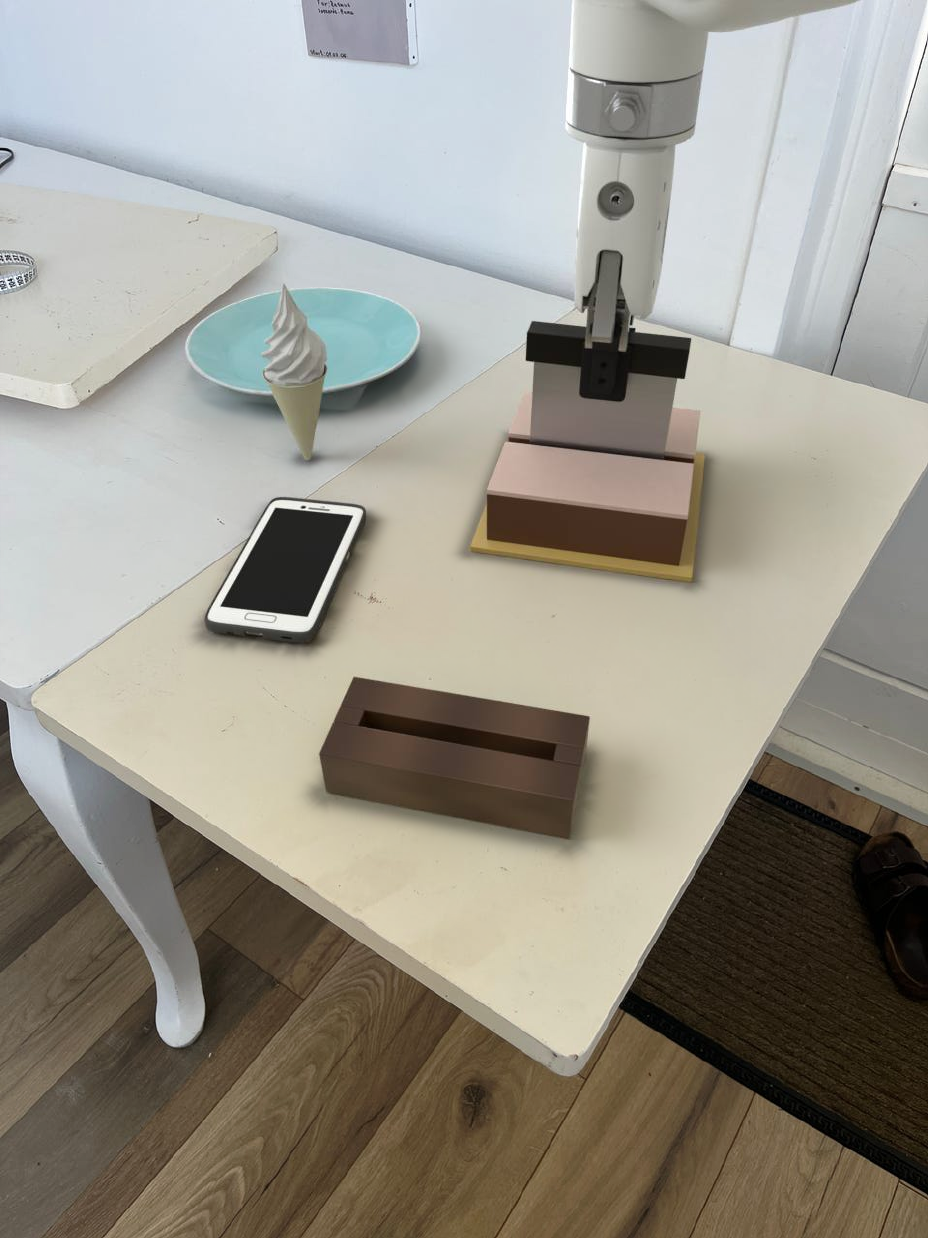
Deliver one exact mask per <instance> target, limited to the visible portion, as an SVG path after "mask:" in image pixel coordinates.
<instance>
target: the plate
mask: <svg viewBox="0 0 928 1238" xmlns="http://www.w3.org/2000/svg"><path fill="white" fill-rule="evenodd" d="M287 289H288V288H287ZM288 291H289V293H290V295H291V297H292V298H293V300H294V302H295V304H296V305H297V307H298V308H299V309H300V310H301V311H302V312H303V313H304V314H305V315H306V316H307V325H308V327H309V328H310V329H311V330H313V331H315V332H316V333H317V335H318V336H319V337H320V338H321V339H322V341H323V342H324V343H325V347H326V353H327V356H326V357H327V360H326V361H325V364H326V365H327V369H328V370H327V373H326V375H325V379H324V384H323V390H322V396H329V395H333V394H336V393H340V392H343V391H347V390H349V389H352V388H355V387H357V386H362V385H364V384H369V383H370V382H374V381H376V380H379V379H381V378H383V377H385V376H388V375H389V374H391V373H393V372H395V371H396V370H398V369H400V368H401V367H402V366H403V365H405V364H406V363H407V362H409V360H410V359H411V358H412V357H413V356H414V355H415V353H416V351H417V350H418V348H419V345H420V343H421V341H422V326H421V324H420V321H419V320H418V318H417V317H416V315H415V314H414V313H413V312H412V311H411V310H409V309H408V308H407V307H406V306H404V305H402V304H401V303H399V302H397V301H395V300H392V299H390V298H387V297H386V296H385V297H384V296H383V295H379V294H375V293H371V292H367V291H363V290H357V289H352V288H351V289H350V288H342V287H298V288H289V289H288ZM281 292H282V289H281V290H276V291H270V292H265V293H261V294H258V295H254V296H249V297H247V298H244V299H240V300H238V301H236V302H233V303H230V304H229V305H226V306H224V307H223V308H222V307H221V308H219V309H218V310H216V311H214V312H213V313H212V312H211V314H209V315H208V316H207V317H205V318H203V319H202V320H200V321H199V323H197V325H195V326H194V328H192V330H191V331H190V332H189V334H188V336H187V338H186V341H185V345H184V352H185V356H186V359H187V361H188V363H189V364H190V365H191V367H192V368H193V370H195V371H196V372H197V373H198V374H199V375H200V376H201V377H203V378H204V379H206V380H208V381H209V382H211V383H212V384H215V385H217V386H219V387H222V388H224V389H227V390H230V391H234V392H237V393H242V394H247V395H254V396H262V397H264V396H265V397H273V398H274V396H273V393H272V391H271V389H270V387H269V385H268V383H267V382H266V381H265V380H264V378H263V376H262V372H263V370H264V367H266V366H267V365H268V363H269V362H270V360H268V358H263V357H262V355H261V353H262V352H264V351H267V350H269V349H270V345H268V344H266V343H264V340H266V339H267V338H269V337H270V336H271V335H272V334H273V333H274V330H273V326H272V322H273V320H274V318H273V317H274V315H275V313H276V310H277V307H278V303H279V299H280V296H281ZM322 396H321V397H322Z"/></svg>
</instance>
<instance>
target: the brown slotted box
mask: <svg viewBox="0 0 928 1238" xmlns="http://www.w3.org/2000/svg"><path fill="white" fill-rule="evenodd" d="M590 721H591V717H590V716H589V715H586V714H585V715H584V714H580V713H579V714H578V713H572V712H566V711H561V710H555V709H549V708H543V707H537V706H531V705H525V704H519V703H514V702H509V701H508V702H507V701H502V700H495V699H490V698H485V697H479V696H472V695H465V694H462V693H461V694H460V693H454V692H448V691H443V690H436V689H430V688H425V687H420V686H419V687H418V686H413V685H407V684H400V683H395V682H389V681H383V680H377V679H371V678H365V677H359V676H353V677H352V679H351V682H350V684H349V686H348V687H347V690H346V693H345V695H344V697H343V699H342V702H341V704H340V706H339V708H338V710H337V712H336V714H335V717H334V719H333V722H332V723H331V726H330V728H329V730H328V732H327V734H326V737H325V739H324V742H323V744H322V746H321V748H320V750H319V752H318V756H319V761H320V768H321V773H322V777H323V783H324V788H325V792H326V794H327V793H328V794H333V795H337V796H343V797H348V798H353V799H359V800H363V801H364V800H365V801H369V802H375V803H380V804H384V805H385V804H386V805H390V806H395V807H399V808H405V809H411V810H416V811H421V812H426V813H432V814H437V815H441V816H447V817H452V818H457V819H462V820H467V821H473V822H477V823H483V824H487V825H488V824H489V825H494V826H497V827H498V826H499V827H503V828H504V827H505V828H510V829H514V830H518V831H519V830H520V831H524V832H529V833H535V834H540V835H545V836H551V837H556V838H559V839H560V838H561V839H566V840H570V839H571V836H572V830H573V825H574V820H575V814H576V810H577V804H578V800H579V799H578V798H579V793H580V788H581V782H582V776H583V772H584V766H585V761H586V757H587V747H588V739H589V730H590V723H591V722H590Z"/></svg>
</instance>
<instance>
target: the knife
mask: <svg viewBox="0 0 928 1238" xmlns="http://www.w3.org/2000/svg"><path fill="white" fill-rule="evenodd" d="M585 337H586V325H584V326H583V325H575V324H565V323H564V324H563V323H555V322H547V321H538V320H537V321H536V320H531V322H530V324H529V326H528V329H527V330H526V341H525V343H526V344H525V362H529V363H533V374H532V391H531V392H532V409H531V428H530V445H539V446H547V447H556V448H564V449H573V450H581V451H590V452H598V453H607V454H615V455H624V456H632V457H641V458H649V459H658V460H664V454H665V448H666V442H667V437H668V431H669V425H670V419H671V413H672V407H673V406H674V401H675V395H676V389H677V383H678V379H680V380H685V379H686V376H687V375H686V374H687V368H688V363H689V357H690V351H691V346H692V345H691V344H692V337H685V336H676V335H669V334H668V335H667V334H658V333H649V332H640V331H639V332H638V331H635V332H631V331H629V336H628V344H627V345H629V346H631V354H630V363H629V372H628V380H627V389H626V396H625V399H624V400H623V401H622V402H615V401H605V400H596V399H587V398H582V397H581V396H580V395H579V387H580V374H581V361H582V348H583V342H584V341H585ZM673 408H674V407H673Z"/></svg>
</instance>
